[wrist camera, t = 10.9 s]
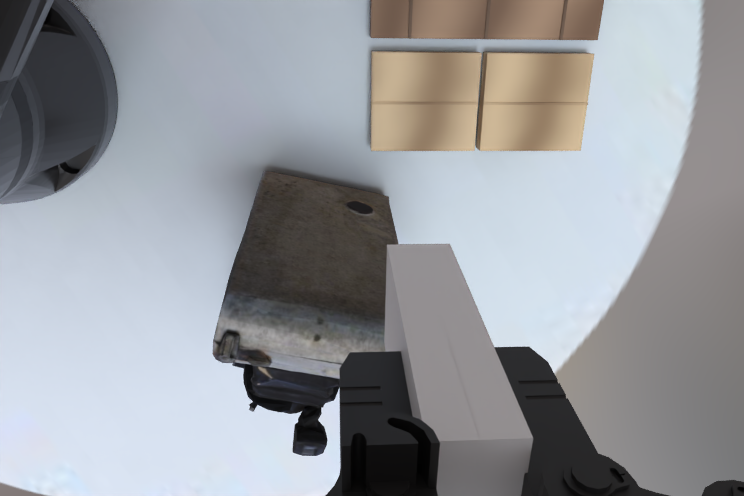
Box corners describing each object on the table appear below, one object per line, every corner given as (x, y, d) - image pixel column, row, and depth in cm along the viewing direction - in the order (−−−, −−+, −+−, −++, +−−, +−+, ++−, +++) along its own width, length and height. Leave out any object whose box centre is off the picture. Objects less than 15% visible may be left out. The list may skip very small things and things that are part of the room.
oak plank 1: (370, 147, 43) (371, 151, 42) (371, 51, 40) (372, 52, 39) (470, 147, 43) (474, 151, 42) (477, 51, 41) (481, 53, 40)
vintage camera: (230, 335, 50) (177, 553, 32) (260, 159, 43) (214, 312, 25) (344, 353, 51) (355, 570, 34) (391, 187, 45) (433, 348, 27)
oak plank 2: (476, 147, 43) (480, 151, 42) (483, 52, 41) (487, 53, 40) (574, 146, 44) (581, 150, 42) (587, 52, 41) (594, 54, 40)
